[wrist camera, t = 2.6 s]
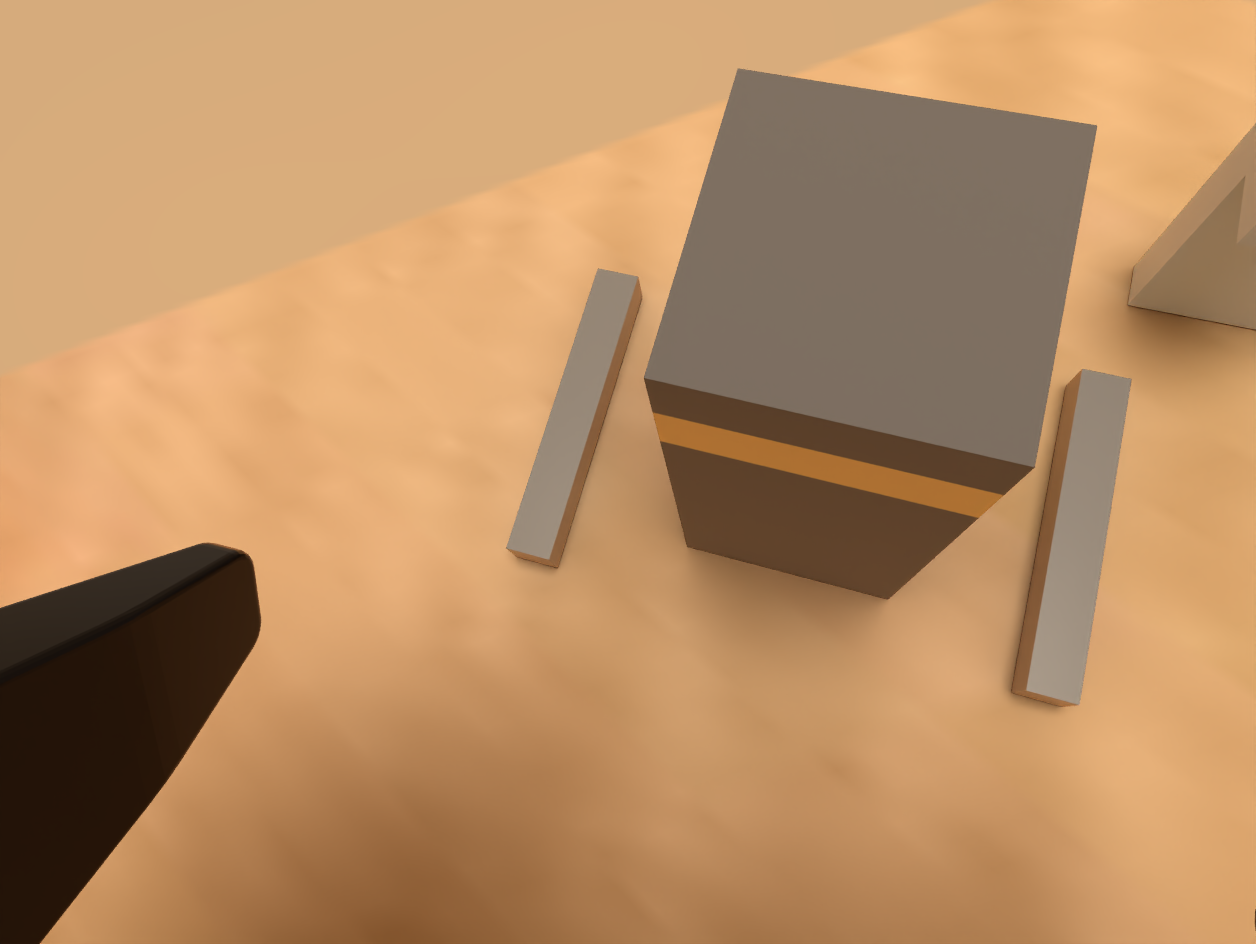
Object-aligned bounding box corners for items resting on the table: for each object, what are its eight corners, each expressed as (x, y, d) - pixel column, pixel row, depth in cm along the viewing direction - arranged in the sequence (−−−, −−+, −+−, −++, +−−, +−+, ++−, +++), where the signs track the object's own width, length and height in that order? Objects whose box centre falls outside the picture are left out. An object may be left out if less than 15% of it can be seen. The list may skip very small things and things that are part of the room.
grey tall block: (888, 599, 19) (1034, 467, 10) (687, 546, 20) (643, 377, 11) (929, 409, 20) (1096, 125, 11) (737, 367, 21) (737, 68, 12)
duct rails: (1691, 879, 16) (2206, 957, 11) (517, 556, 21) (432, 488, 15) (1688, 369, 19) (2105, 209, 13) (640, 175, 23) (608, -10, 17)
